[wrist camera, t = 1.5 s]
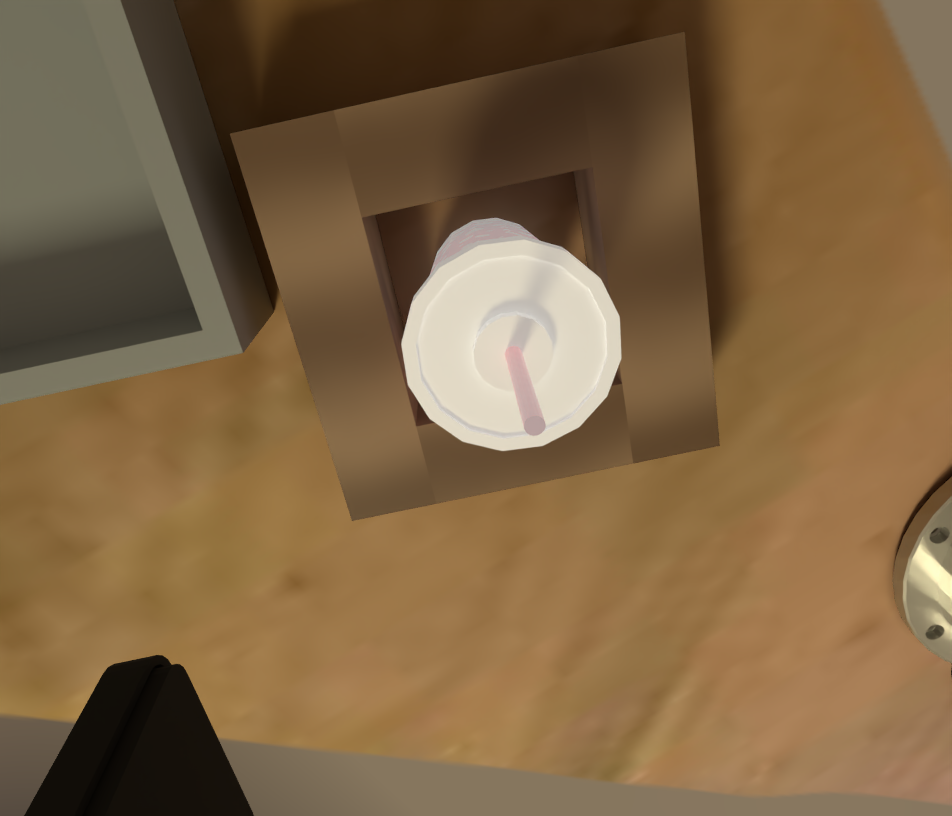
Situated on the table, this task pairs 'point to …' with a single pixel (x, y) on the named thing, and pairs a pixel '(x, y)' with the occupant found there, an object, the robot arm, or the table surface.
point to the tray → (113, 202)
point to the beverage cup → (509, 338)
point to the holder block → (470, 171)
